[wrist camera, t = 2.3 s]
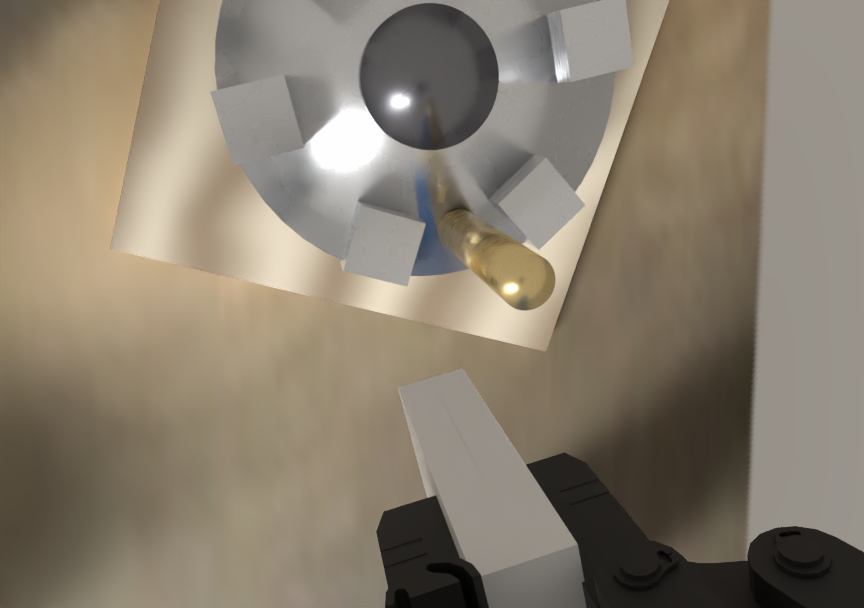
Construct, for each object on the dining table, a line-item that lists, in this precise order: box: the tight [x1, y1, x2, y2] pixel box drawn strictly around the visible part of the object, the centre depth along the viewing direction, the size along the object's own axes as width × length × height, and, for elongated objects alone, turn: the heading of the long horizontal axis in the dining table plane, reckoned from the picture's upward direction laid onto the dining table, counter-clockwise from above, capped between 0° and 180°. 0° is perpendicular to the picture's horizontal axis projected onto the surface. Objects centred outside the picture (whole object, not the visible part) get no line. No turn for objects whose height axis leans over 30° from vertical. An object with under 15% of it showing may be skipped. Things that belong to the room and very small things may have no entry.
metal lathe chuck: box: [210, 0, 634, 311], centre depth 29 cm, size 18×18×14 cm
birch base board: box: [110, 0, 669, 351], centre depth 36 cm, size 24×24×2 cm
